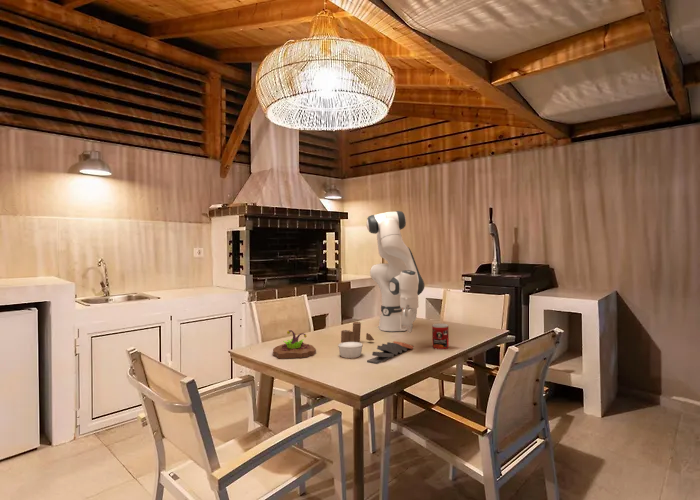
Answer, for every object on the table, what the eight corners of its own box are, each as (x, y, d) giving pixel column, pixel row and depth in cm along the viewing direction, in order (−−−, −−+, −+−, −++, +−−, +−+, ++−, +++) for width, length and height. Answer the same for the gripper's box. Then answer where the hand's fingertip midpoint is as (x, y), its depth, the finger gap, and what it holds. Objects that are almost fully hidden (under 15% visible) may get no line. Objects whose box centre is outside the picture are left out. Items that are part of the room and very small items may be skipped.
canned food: (431, 348, 199) (431, 326, 199) (433, 345, 206) (433, 323, 206) (447, 349, 196) (447, 326, 196) (449, 346, 203) (449, 323, 203)
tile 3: (388, 350, 191) (377, 345, 183) (397, 351, 188) (387, 346, 180) (387, 353, 190) (377, 348, 183) (397, 355, 187) (386, 350, 180)
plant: (270, 350, 202) (270, 327, 202) (309, 347, 208) (309, 324, 208) (275, 360, 183) (275, 335, 183) (318, 356, 189) (318, 332, 189)
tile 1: (398, 346, 198) (387, 342, 190) (407, 348, 194) (396, 343, 187) (397, 350, 197) (386, 345, 190) (406, 351, 194) (395, 347, 187)
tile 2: (393, 348, 194) (382, 343, 187) (402, 350, 191) (391, 345, 184) (392, 352, 194) (381, 347, 186) (401, 353, 190) (391, 348, 183)
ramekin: (338, 352, 194) (338, 341, 194) (362, 352, 194) (362, 341, 194) (337, 359, 183) (337, 347, 183) (362, 359, 183) (362, 347, 183)
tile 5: (379, 355, 185) (367, 360, 177) (389, 357, 182) (376, 362, 174) (379, 359, 185) (367, 364, 177) (389, 360, 182) (376, 366, 174)
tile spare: (404, 344, 202) (393, 341, 195) (413, 345, 199) (402, 342, 191) (403, 347, 201) (392, 344, 194) (412, 349, 198) (402, 345, 191)
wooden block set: (346, 348, 203) (347, 327, 202) (336, 343, 210) (337, 323, 209) (374, 343, 214) (375, 323, 213) (363, 339, 221) (364, 320, 220)
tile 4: (383, 352, 187) (372, 351, 179) (393, 353, 185) (382, 353, 177) (383, 355, 187) (372, 355, 179) (393, 357, 184) (382, 357, 176)
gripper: (412, 306, 190) (412, 336, 190) (418, 301, 210) (419, 328, 210) (398, 306, 192) (399, 336, 192) (406, 301, 212) (406, 328, 212)
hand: (409, 332), depth 201 cm, fingers closed
